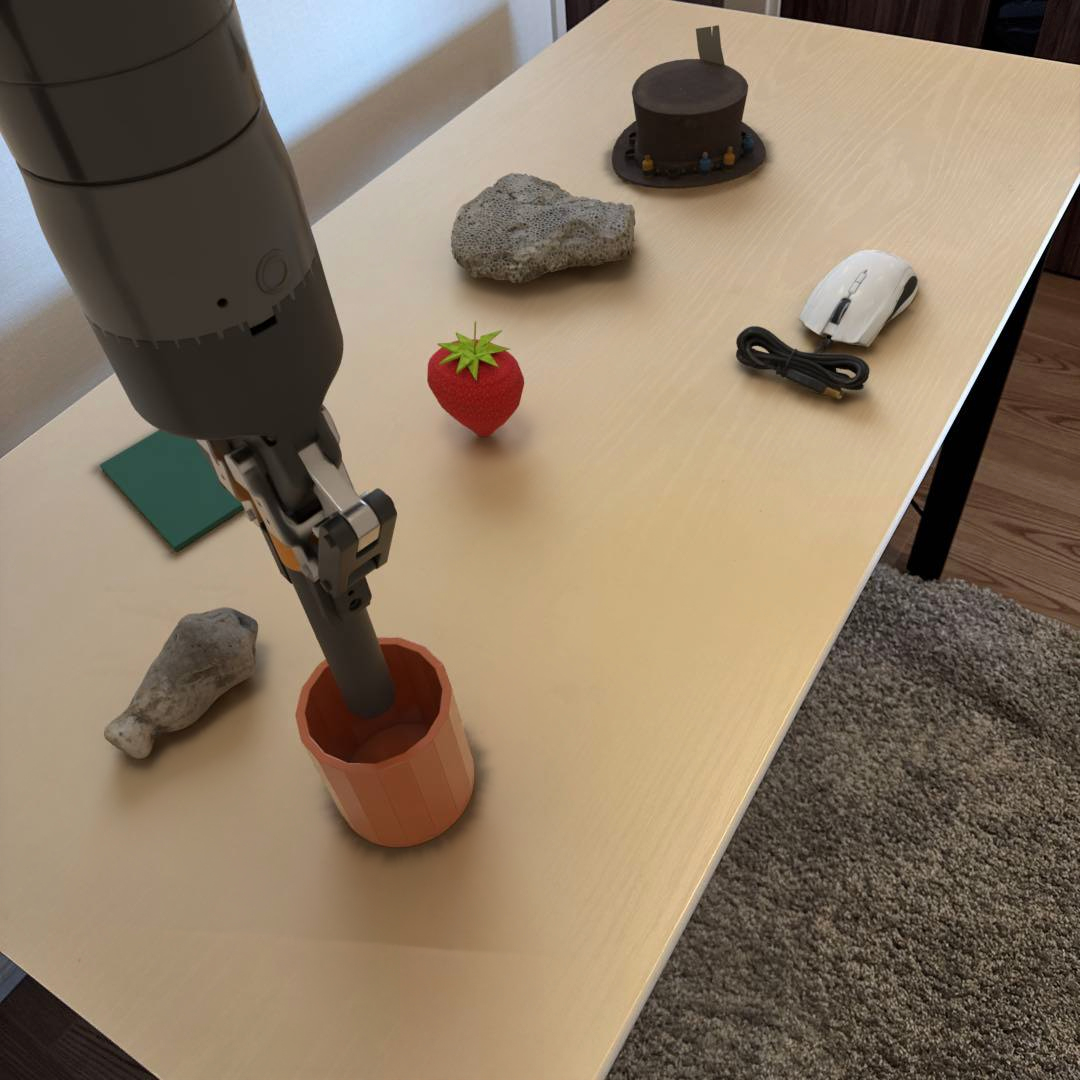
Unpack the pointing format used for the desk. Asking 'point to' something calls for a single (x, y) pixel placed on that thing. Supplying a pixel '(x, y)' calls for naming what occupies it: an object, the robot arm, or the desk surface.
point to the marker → (346, 648)
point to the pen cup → (391, 750)
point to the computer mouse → (837, 322)
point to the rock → (537, 230)
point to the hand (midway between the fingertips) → (327, 589)
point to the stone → (187, 677)
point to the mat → (172, 487)
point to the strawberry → (476, 382)
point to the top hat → (689, 124)
